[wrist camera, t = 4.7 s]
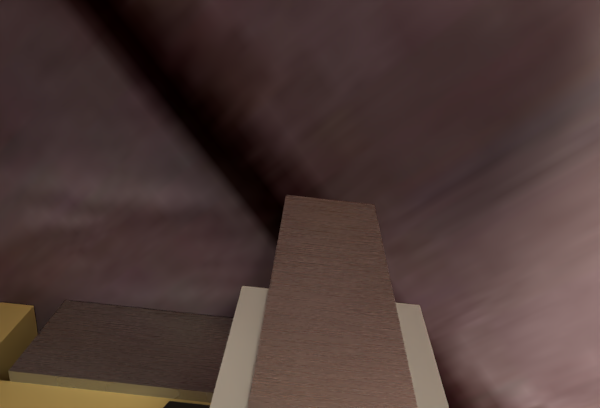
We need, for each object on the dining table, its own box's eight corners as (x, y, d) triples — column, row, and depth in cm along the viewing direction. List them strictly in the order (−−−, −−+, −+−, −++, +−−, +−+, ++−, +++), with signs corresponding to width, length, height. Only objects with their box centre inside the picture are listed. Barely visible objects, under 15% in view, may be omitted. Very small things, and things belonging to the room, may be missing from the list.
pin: (285, 194, 18) (118, 1114, 3) (375, 204, 18) (583, 1165, 3) (278, 270, 19) (136, 1161, 5) (361, 279, 19) (470, 1198, 5)
